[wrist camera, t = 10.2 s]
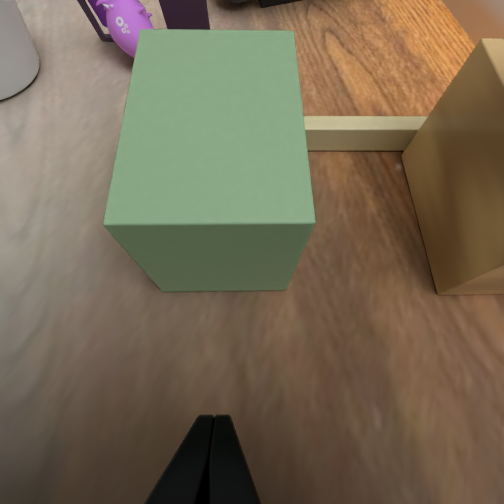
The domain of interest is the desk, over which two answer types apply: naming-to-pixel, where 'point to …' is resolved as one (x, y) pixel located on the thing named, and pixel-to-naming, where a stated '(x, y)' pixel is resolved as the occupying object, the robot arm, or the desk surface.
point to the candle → (15, 51)
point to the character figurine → (265, 2)
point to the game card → (143, 18)
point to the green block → (213, 161)
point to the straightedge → (361, 132)
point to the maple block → (463, 177)
